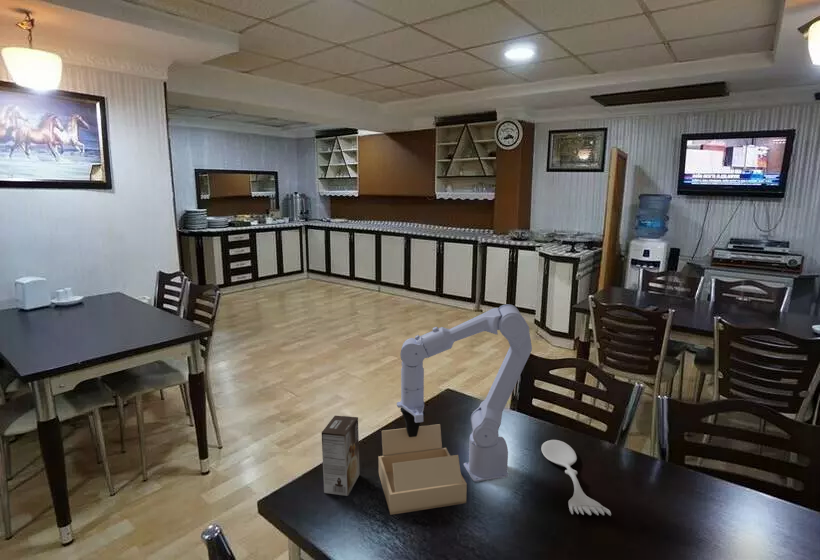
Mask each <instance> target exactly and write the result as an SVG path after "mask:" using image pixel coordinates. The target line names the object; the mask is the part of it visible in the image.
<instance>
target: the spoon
mask: <svg viewBox="0 0 820 560" xmlns="http://www.w3.org/2000/svg"><path fill="white" fill-rule="evenodd" d="M540 447H541V448H540V449H541V453H542V454H543V457H545V458H546V459H547V460H548V461H550V462H551V463H554V464H556V465H558V466H560V467H564V468H566V469H565V470H564V474H566V475H568V476H569V477H570V479H571V480H572V483H573V495H572V497H570V499H569V500H568V502H567V503H568V508H569V509H568V510H569V512H570V514H571V515H574V512H575V513H576V514H577V515H579V513H580V514H581V515H583V516H585V514H587V515H588V516H592V514H595V515H596V516H600V515H599V514H601V516H605V514H607V515H608V516H610V517H611V516H612V512H611V510H610V509H608V508H607V507H605V506H603V505H602V504H601V503H600V502H598V501H597V500H595V499H593V498H591V497H589V496H587V495H586V493H585V492H584V491H583V488H582V487H581V485H580V482H579V479H578V478H577V475H578V471H577V470H575V469H573V468H572V467H571V466H572V465H574V464H575V463H576V462H577V459H578V456H577V454H576V451H575V450H574V448H572V447H571V445H569V444H568V443H566V442H564V441H562V440H558V439H550V440H547V441H546V440H545V442H543V443H542V444H541V446H540Z"/></svg>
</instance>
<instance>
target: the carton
mask: <svg viewBox="0 0 820 560" xmlns="http://www.w3.org/2000/svg"><path fill="white" fill-rule="evenodd" d="M445 456H451V453H449V451H448V449H447V447H442V448H437V449H429V450H421V451H413V452H405V453H397V454H389V455H380V456H379V455H378V457H377V458H378V476H379V480H380V483H381V487H382V491H383V494H384V498H385V501H386V505H387V509H388V512H389V515H390V516H391V515H398V514H404V513H411V512H412V513H413V512H418V511H424V510H430V509H436V508H442V507H443V508H444V507H450V506H457V505H462V504H467V489H468V486H467V485H468V483H467V482H466V479H465V478H464V476H463V475H462V474H461V479H462V483H455V484H448V485H441V486H434V487H427V488H420V489H414V490H407V491H400V492H395V486H394V475H393V465H392V463H399V462H406V461H414V460H422V459H430V458H437V457H445Z"/></svg>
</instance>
